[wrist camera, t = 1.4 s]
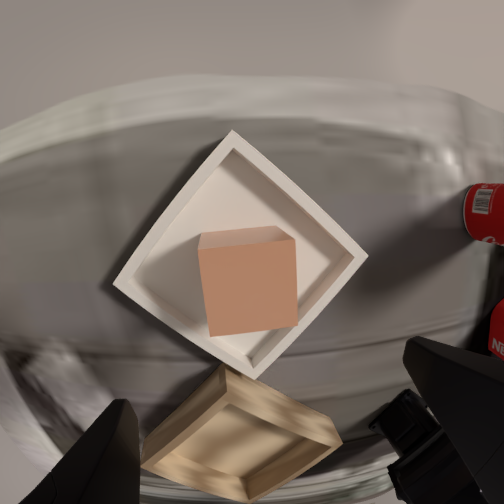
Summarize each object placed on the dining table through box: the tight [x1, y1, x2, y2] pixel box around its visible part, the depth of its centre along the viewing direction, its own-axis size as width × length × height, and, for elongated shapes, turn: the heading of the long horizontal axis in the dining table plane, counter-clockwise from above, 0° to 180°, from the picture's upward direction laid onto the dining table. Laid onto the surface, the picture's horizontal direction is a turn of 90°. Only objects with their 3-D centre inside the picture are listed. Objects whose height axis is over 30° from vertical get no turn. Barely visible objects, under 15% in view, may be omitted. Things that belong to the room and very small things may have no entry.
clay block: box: [197, 225, 298, 337], centre depth 18 cm, size 5×5×5 cm
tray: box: [113, 130, 368, 380], centre depth 20 cm, size 13×13×2 cm
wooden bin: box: [140, 362, 343, 504], centre depth 23 cm, size 14×14×4 cm
